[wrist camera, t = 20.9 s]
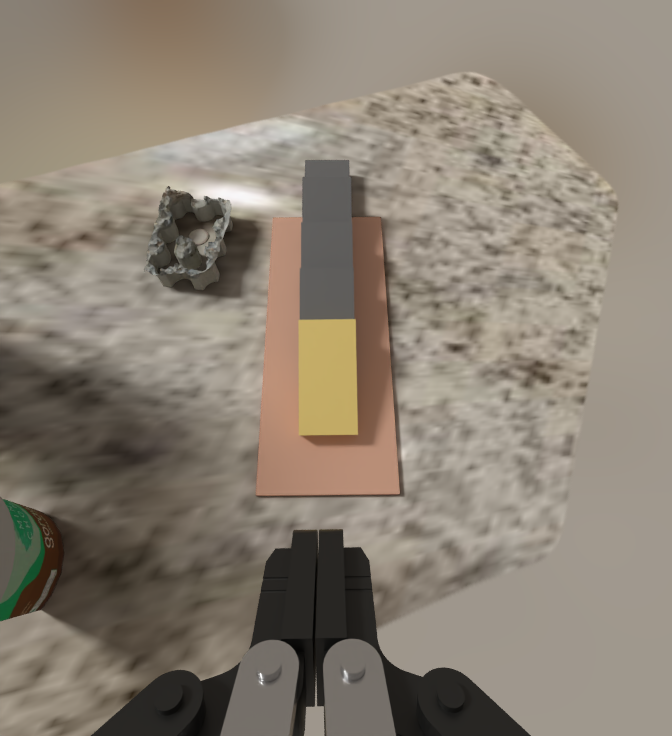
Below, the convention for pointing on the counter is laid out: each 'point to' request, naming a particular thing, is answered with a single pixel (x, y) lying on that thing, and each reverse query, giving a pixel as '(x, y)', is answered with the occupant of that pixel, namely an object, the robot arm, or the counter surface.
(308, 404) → the ochre domino
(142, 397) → the counter surface
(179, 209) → the egg carton
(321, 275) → the charcoal domino
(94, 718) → the counter surface
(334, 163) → the charcoal domino
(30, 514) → the food container
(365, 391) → the terracotta mat
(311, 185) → the charcoal domino
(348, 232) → the charcoal domino
